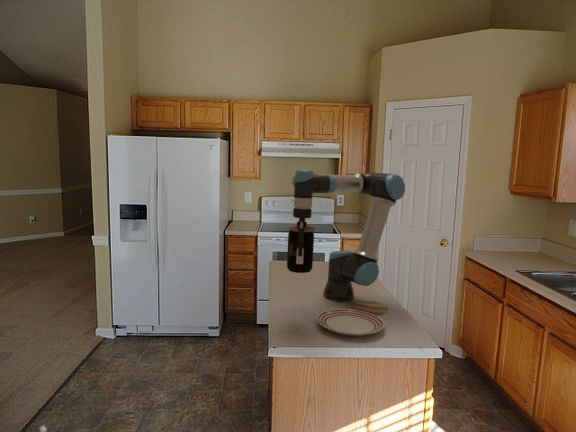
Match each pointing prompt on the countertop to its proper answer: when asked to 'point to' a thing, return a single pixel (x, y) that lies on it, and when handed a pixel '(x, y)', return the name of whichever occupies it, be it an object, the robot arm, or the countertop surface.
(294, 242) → the coffee jar
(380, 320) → the dinner plate
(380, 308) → the cork trivet
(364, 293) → the countertop surface
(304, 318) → the countertop surface
